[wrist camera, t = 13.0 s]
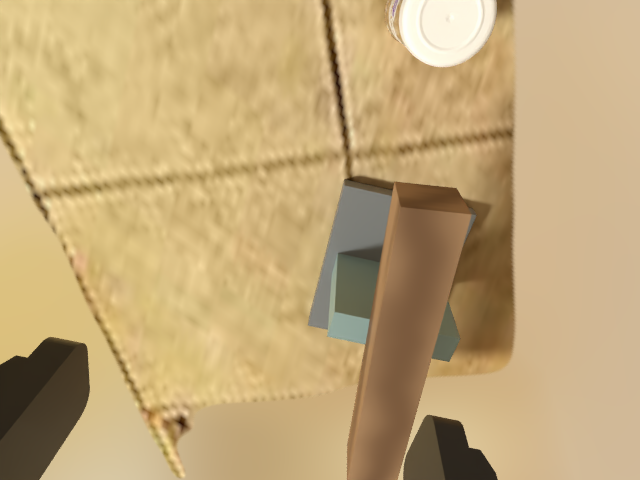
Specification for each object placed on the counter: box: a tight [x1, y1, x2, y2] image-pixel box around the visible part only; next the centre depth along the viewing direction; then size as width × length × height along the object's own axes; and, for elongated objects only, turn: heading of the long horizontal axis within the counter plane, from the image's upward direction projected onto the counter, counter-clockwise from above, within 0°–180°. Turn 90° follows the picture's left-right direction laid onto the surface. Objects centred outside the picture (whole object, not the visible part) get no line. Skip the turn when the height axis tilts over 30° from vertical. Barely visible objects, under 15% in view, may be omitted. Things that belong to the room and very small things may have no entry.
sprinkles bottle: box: [385, 0, 497, 67], centre depth 27 cm, size 5×4×14 cm
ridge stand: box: [308, 179, 477, 362], centre depth 39 cm, size 12×16×10 cm
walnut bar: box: [347, 182, 472, 480], centre depth 32 cm, size 4×26×4 cm, turn 175°
